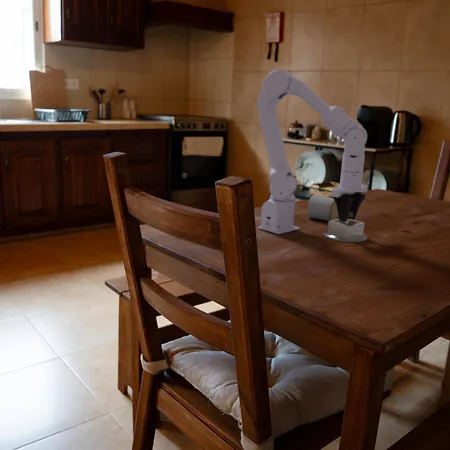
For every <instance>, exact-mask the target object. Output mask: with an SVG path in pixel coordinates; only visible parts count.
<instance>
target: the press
mask: <svg viewBox="0 0 450 450" xmlns="http://www.w3.org/2000/svg"><path fill="white" fill-rule="evenodd" d="M364 231H365V222H363V221H358V220H356V219H354V220H352V219H349V220H348V225H346V224H345V222H344V221H340V220H339V218H336V219H335V220H334V219H328V221H327V230H324V231H323V236H324V237H325V238H327V239H329V240H332V241H336V242H339V243H340V242H342V243H352V244H354V243H363V242H366V241H367V240H368V236H367V235H366V234H365V233H364Z"/></svg>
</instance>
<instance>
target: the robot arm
mask: <svg viewBox="0 0 450 450" xmlns="http://www.w3.org/2000/svg"><path fill="white" fill-rule="evenodd" d="M261 84H262V85H261V89H260V92H259V96H258V97H257V98H258V99H257V102H256V108H257V112H258V117H259V122H260V126H261V129H262V135H263V140H264V144H265V148H266V153H267V157H268V158H267V159H268V163H269V166H270V167H269V168H270V170H269V178H270V184H269V193H270V195H269V199H268V200H266V201H265V202H264V203H263V204H262V206H261V212H260V213H261V215H260V225H259V226H258V229H260V230H264V231H266V232H270V233H274V234H276V235H277V234H278V235H281V234H284V233H288V232H293V231H297V230H300V227H299V226H295V225H294V224H295V223H294V219H295V209H296V208H295V207H296V196H295V195H294V192H295V191H296V190H297V188H298V181H297V179H296V177H295V176H294V175H293V173H292V169H291V166H290V165H289V162H288V158H287V157H288V156H287V154H286V149H285V144H284V139H283V135H282V132H281V131H282V129H281V125H280V122H279V116H278V113H277V107H278V106H279V104H280V102H281V101H282V100H283V98H284V97H285V96H287V95H291V96H295V97H298V98H301V100H302V101H304V102H305V103H306V104H307V105H309V106H310V107H311V108H312V109H314V110H315V111H316V113H318V114H320V116H321V121H322V124H323V125H325V126H326V127H327V129H329V130H330V131H331V132H333V133H334V135H336V137H338V138H340V139H341V138H342V139H343V143H344V149H343V150H344V151H343V154H342V159H341V161H342V162H341V170H340V171H341V172H340V178H339V179H340V180H339V181H340V182H339V186H337V187H335V188H331V197H332V198H333V199H334V201H335V203H336V206H337V210H338V216H337V218H338V219H339V220H340V221H344V222H346V221H347V219H348V214H349V211H353V218H349V219H351V220H356V217H357V214H358V212H359V209H360V208H361V207H360V206H361V205H362V203H363V202H364V200H365V199H366V197H367V196H366V195H367V194H364V193H368V187H369V186H368V185H366V184H362V183H363V176H364V165H365V156H366V155H365V151H366V143H367V140H368V133H367V130H366V129H365V128H364V126H363V125H360V124H359V121H358V120H357V119H355V120H354V119H353V118H352V117H351V116H350V115H348V114H347V113H346V112H345V111H346V109H345V108H344V107H342V106H340V107H339V106H338V105H329V104H328V103H327V102H326V101H325V100H324V99H322V97H321V96H320V95H318V94H317V92H315V91H314V90H313V88H311V87H310V86H309V85H308V84H307V83H305V81H303V80H301V79H300V78H298V77H297V76H294V75H293V74H292V72H290V71H288V70H283V69H281V68H275V69H273V70H271V71H269V73H267V75H265V78H264V79H263V80H262V83H261Z"/></svg>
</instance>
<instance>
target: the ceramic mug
mask: <svg viewBox="0 0 450 450" xmlns="http://www.w3.org/2000/svg"><path fill="white" fill-rule="evenodd" d="M306 211H307V216H308V217H309V218H310V219H316V220H321V221H326V222H328V219H334V220H335V219H338V210H337V206H336V203H335V201H334V199H333V197H329V196H324V195H320V194H316V193H315V194H314V193H313V195H312V196H311V197H310V199H309V200H308V204H307V210H306Z"/></svg>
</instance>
